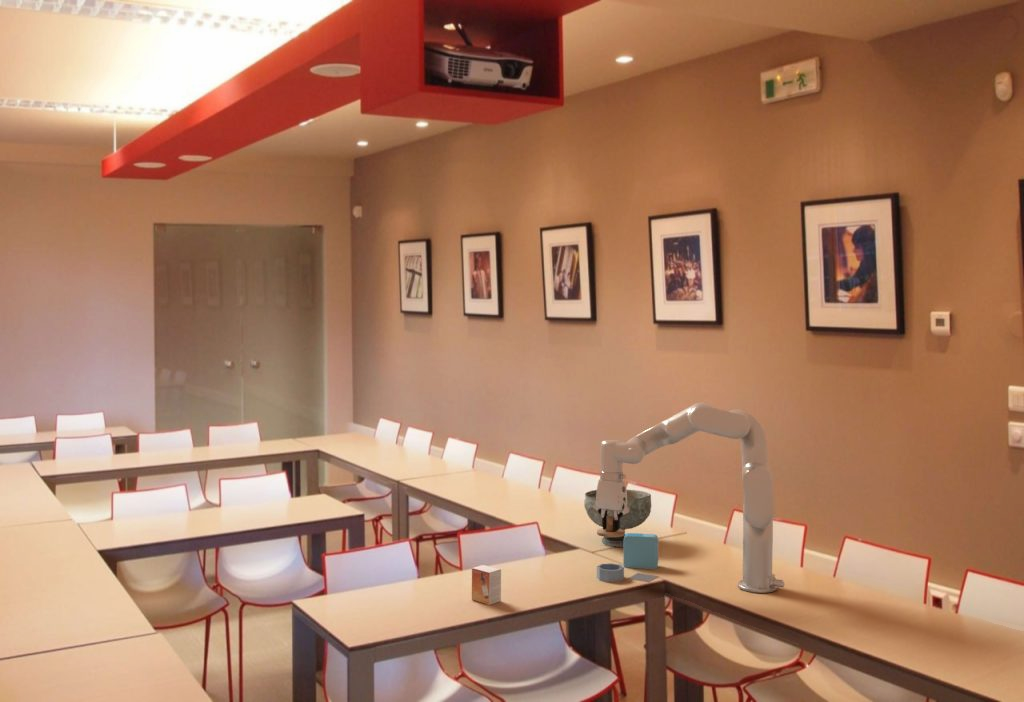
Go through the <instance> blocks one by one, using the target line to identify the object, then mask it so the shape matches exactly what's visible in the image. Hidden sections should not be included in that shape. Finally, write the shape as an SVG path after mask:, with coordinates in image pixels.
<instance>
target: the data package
mask: <svg viewBox="0 0 1024 702" xmlns="http://www.w3.org/2000/svg"><path fill="white" fill-rule="evenodd" d="M625 534H626V535H625V537H624V542H623V547H622V548H623V550H622V551H623V552H622V553H623V559H622V560H623V565H622V566H623V567H624V568H628V569H631V568H632V569H650V570H651V569H652V570H657V569H658V565H659V536H657V534H654V533H640V532H639V533H637V532H634V533H633V532H632V533H631V532H630V533H629V532H627V533H625Z"/></svg>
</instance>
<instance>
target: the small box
mask: <svg viewBox="0 0 1024 702" xmlns="http://www.w3.org/2000/svg"><path fill="white" fill-rule="evenodd" d="M501 594H502V569H501V568H496V567H492V566H489V565H485V564H481V565H478V566H475V567H472V568H471V600H472V601H475V602H478V603H482V604H485V605H487V606H490V605H493V604H497V603H499V602H501V600H502V595H501Z"/></svg>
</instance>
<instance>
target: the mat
mask: <svg viewBox="0 0 1024 702" xmlns="http://www.w3.org/2000/svg"><path fill="white" fill-rule="evenodd" d="M659 577H660V576H657V575H652V574H646V573H642V572H637V573H636V574H633V575H631V576H628V578H627V580H634V581H639V582H645V583H651V582H652V581H654V580H655V579H657V578H659Z"/></svg>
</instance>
